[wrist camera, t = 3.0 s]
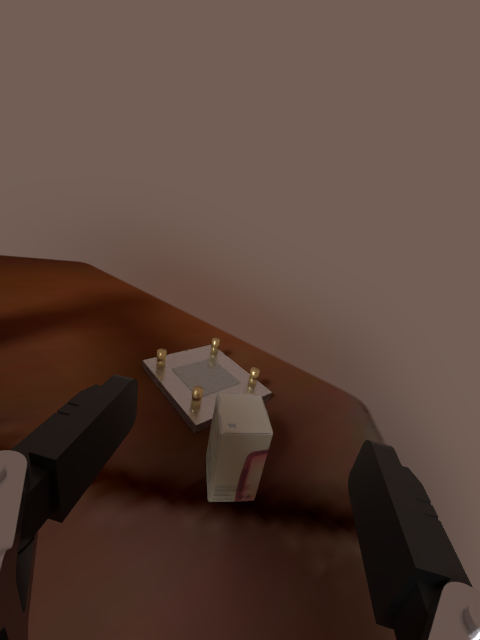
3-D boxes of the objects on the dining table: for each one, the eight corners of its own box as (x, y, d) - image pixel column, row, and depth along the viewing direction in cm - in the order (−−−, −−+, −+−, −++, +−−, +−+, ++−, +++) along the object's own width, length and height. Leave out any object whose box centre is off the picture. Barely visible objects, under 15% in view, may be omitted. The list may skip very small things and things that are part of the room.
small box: (255, 502, 25) (275, 435, 22) (206, 503, 24) (220, 433, 21) (246, 454, 29) (262, 393, 26) (205, 453, 28) (216, 390, 25)
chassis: (142, 367, 40) (143, 344, 38) (211, 350, 47) (214, 331, 46) (194, 433, 30) (198, 406, 29) (270, 399, 38) (276, 376, 37)
